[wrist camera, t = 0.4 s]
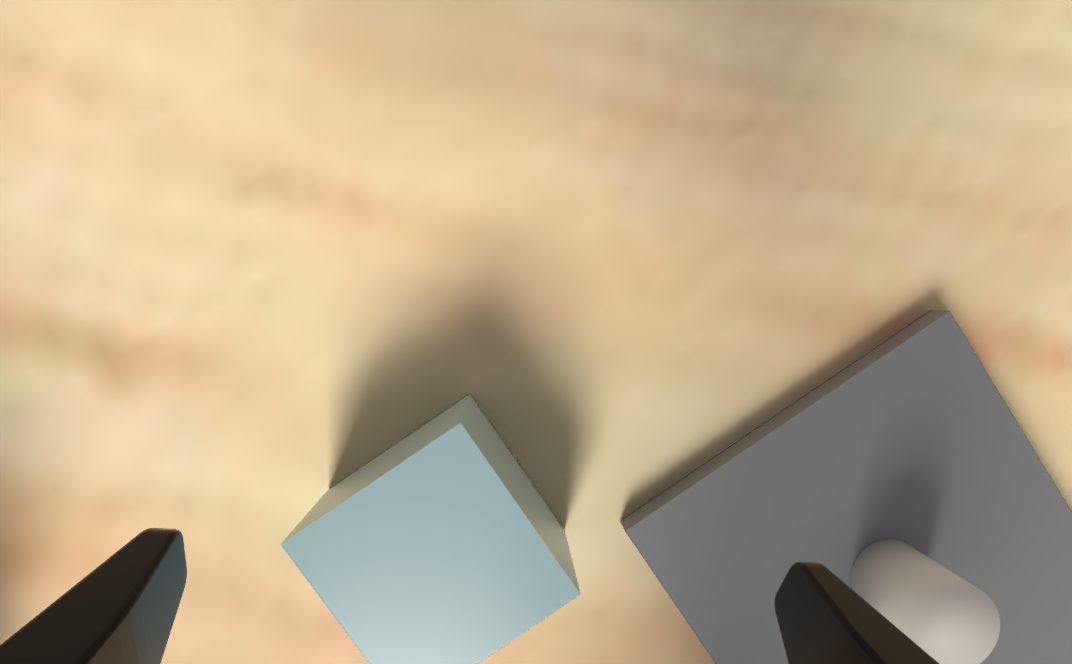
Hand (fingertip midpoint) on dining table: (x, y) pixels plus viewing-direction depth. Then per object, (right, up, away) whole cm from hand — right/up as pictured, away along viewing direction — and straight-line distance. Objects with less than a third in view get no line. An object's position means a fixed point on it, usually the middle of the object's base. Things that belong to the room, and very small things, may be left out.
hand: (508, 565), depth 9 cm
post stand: (+13, -6, +15) cm, 21 cm away
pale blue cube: (-3, -3, +14) cm, 15 cm away
